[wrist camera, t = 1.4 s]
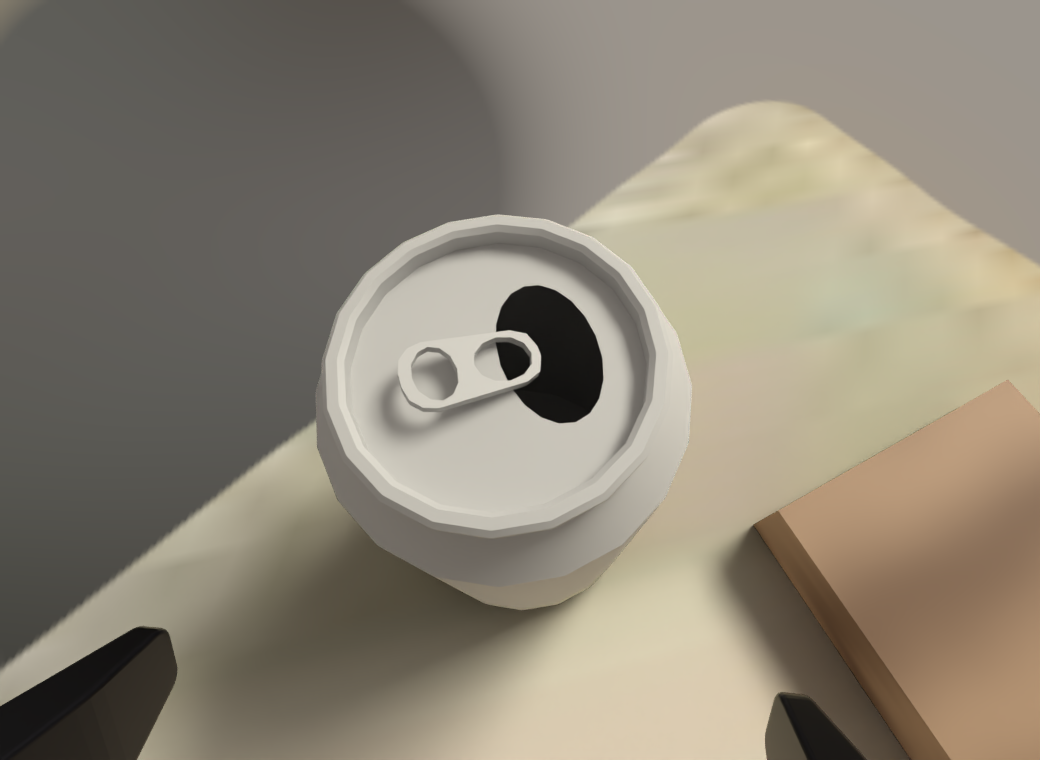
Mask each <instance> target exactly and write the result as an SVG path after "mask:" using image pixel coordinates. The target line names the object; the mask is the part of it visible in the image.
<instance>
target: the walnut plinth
mask: <svg viewBox="0 0 1040 760" xmlns="http://www.w3.org/2000/svg"><path fill="white" fill-rule="evenodd" d="M754 527H755V528H756V530H757V531H758V533H759V534H760V536H761V537H762V539H763V540H764V542H765V543H766V545H767V546H768V547H769V549H770V550H771V552H772V553H773V555H774V556H775V558H776V559H777V561H778V562H779V564H780V565H781V567H782V568H783V570H784V571H785V573H786V574H787V576H788V577H789V579H790V580H791V582H792V583H793V585H794V586H795V588H796V589H797V591H798V592H799V594H800V595H801V597H802V598H803V600H804V601H805V603H806V604H807V606H808V607H809V609H810V610H811V612H812V613H813V615H814V616H815V618H816V619H817V621H818V622H819V624H820V625H821V627H822V628H823V630H824V631H825V633H826V634H827V635H828V637H829V638H830V640H831V641H832V643H833V644H834V646H835V647H836V649H837V650H838V652H839V653H840V655H841V656H842V658H843V659H844V661H845V662H846V664H847V665H848V667H849V668H850V670H851V671H852V673H853V674H854V676H855V677H856V679H857V680H858V682H859V683H860V685H861V686H862V688H863V689H864V691H865V692H866V694H867V695H868V697H869V698H870V700H871V701H872V703H873V704H874V706H875V707H876V709H877V710H878V712H879V713H880V715H881V716H882V718H883V719H884V721H885V722H886V724H887V725H888V726H889V728H890V729H891V731H892V732H893V734H894V735H895V737H896V738H897V740H898V741H899V743H900V744H901V746H902V747H903V749H904V750H905V752H906V753H907V755H908V756H909V758H910V759H911V760H1040V413H1039V412H1038V411H1037V410H1036V409H1035V408H1034V407H1033V406H1032V405H1031V404H1030V403H1029V402H1028V401H1027V400H1026V398H1025V397H1024V396H1023V395H1022V394H1021V393H1020V392H1019V391H1018V390H1017V389H1016V388H1015V387H1014V386H1013V384H1012V383H1011V382H1010V381H1009V380H1006V381H1005V382H1003V383H1001V384H999V385H998V386H996V387H994V388H992V389H991V390H989V391H987V392H985V393H984V394H982V395H980V396H978V397H977V398H975V399H973V400H971V401H970V402H968V403H966V404H964V405H962V406H961V407H959V408H957V409H955V410H954V411H952V412H950V413H948V414H947V415H945V416H943V417H941V418H940V419H938V420H936V421H934V422H933V423H931V424H929V425H927V426H926V427H924V428H922V429H920V430H919V431H917V432H915V433H913V434H912V435H910V436H908V437H906V438H905V439H903V440H901V441H899V442H898V443H896V444H894V445H892V446H891V447H889V448H887V449H885V450H884V451H882V452H880V453H878V454H876V455H875V456H873V457H871V458H869V459H868V460H866V461H864V462H862V463H861V464H859V465H857V466H855V467H854V468H852V469H850V470H848V471H847V472H845V473H843V474H841V475H840V476H838V477H836V478H834V479H833V480H831V481H829V482H827V483H826V484H824V485H822V486H820V487H819V488H817V489H815V490H813V491H812V492H810V493H808V494H806V495H805V496H803V497H801V498H799V499H798V500H796V501H794V502H792V503H791V504H789V505H787V506H785V507H784V508H782V509H780V510H778V511H776V512H775V513H773V514H771V515H769V516H768V517H766V518H764V519H762V520H761V521H759V522H757V523H755V524H754Z"/></svg>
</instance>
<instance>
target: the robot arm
mask: <svg viewBox="0 0 1040 760" xmlns="http://www.w3.org/2000/svg"><path fill="white" fill-rule="evenodd" d="M176 677H177V664H176V660H175V656H174V651H173V647H172V643H171V639H170V636H169V633H168V632H167V631H166V630H165V629H163V628H156V627H146V626H140V627H136V628H134V629H132V630H130V631H128V632H127V633H125V634H123V635H122V636H120V637H118V638H116V639H115V640H113V641H111V642H110V643H108V644H106V645H104V646H103V647H101V648H99V649H98V650H96V651H94V652H92V653H91V654H89V655H87V656H86V657H84V658H82V659H80V660H79V661H77V662H75V663H74V664H72V665H70V666H68V667H67V668H65V669H63V670H62V671H60V672H58V673H56V674H55V675H53V676H51V677H50V678H48V679H46V680H44V681H43V682H41V683H39V684H38V685H36V686H34V687H32V688H31V689H29V690H27V691H26V692H24V693H22V694H21V695H19V696H17V697H15V698H14V699H12V700H10V701H9V702H7V703H5V704H3V705H2V706H0V760H137V758H138V756H139V754H140V752H141V750H142V748H143V746H144V744H145V742H146V740H147V738H148V736H149V734H150V732H151V730H152V728H153V726H154V724H155V722H156V720H157V718H158V716H159V714H160V712H161V710H162V708H163V706H164V704H165V702H166V700H167V698H168V696H169V694H170V692H171V690H172V688H173V686H174V684H175V681H176ZM765 749H766V755H767V760H867V759H866V758H865V757H864V756H863V755H862V754H861V753H860V751H859V750H858V749H857V748H856V747H855V746H854V745H853V744H852V743H851V742H850V740H849V739H848V738H847V737H846V736H845V735H844V734H843V733H842V732H841V731H840V729H839V728H838V727H837V726H836V725H835V724H834V723H833V722H832V721H831V719H830V718H829V717H828V716H827V715H826V714H825V713H824V712H823V711H822V710H821V708H820V707H819V706H818V705H817V704H816V703H815V702H814V701H813V700H812V699H811V698H810V697H808V696H806V695H803V694H795V693H785V692H780V693H778V694H777V695H776V696H775V699H774V702H773V706H772V709H771V713H770V717H769V721H768V725H767V728H766V733H765Z"/></svg>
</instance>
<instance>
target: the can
mask: <svg viewBox="0 0 1040 760" xmlns="http://www.w3.org/2000/svg"><path fill="white" fill-rule="evenodd" d="M691 395H692V384H691V380H690V377H689V373H688V370H687V367H686V363H685V360H684V356H683V353H682V349H681V346H680V343H679V339H678V336H677V333H676V331H675V330H674V328H673V327H672V326H671V324H670V323H669V321H668V320H667V318H666V317H665V315H664V314H663V313H662V311H661V310H660V307H659V305H658V304H657V302H656V301H655V300H654V298H653V297H652V295H651V294H650V292H649V291H648V290H647V288H646V287H645V285H644V284H643V282H642V281H641V279H640V278H639V277H638V275H637V274H636V272H635V271H634V269H633V268H632V267H631V266H630V265H629V264H627V263H626V262H625V261H623V260H622V259H621V258H620V257H618V256H617V255H616V254H614V253H613V252H612V251H610V250H609V249H608V248H606V247H605V246H604V245H603V244H601V243H600V242H599V241H597V240H596V239H595V238H593V237H591V236H589V235H586V234H584V233H581V232H578V231H576V230H573V229H571V228H568V227H565V226H563V225H560V224H558V223H555V222H552V221H550V220H547V219H537V218H528V217H518V216H508V215H492V216H485V217H479V218H472V219H466V220H460V221H454V222H448V223H446V224H444V225H441V226H439V227H437V228H435V229H432V230H430V231H428V232H425V233H423V234H421V235H419V236H416V237H414V238H412V239H410V240H407V241H405V242H403V243H402V244H401V245H399V246H398V247H397V248H396V249H394V250H393V251H392V252H391V253H389V254H388V255H387V256H386V257H385V258H383V259H382V260H381V261H379V262H378V263H377V264H376V265H375V266H373V267H372V268H371V269H370V270H368V271H367V272H366V273H365V274H364V275H363V277H362V278H361V279H360V281H359V282H358V284H357V285H356V287H355V288H354V289H353V291H352V292H351V294H350V295H349V297H348V298H347V300H346V301H345V302H344V304H343V305H342V307H341V308H340V310H339V311H338V312H337V314H336V317H335V320H334V323H333V326H332V330H331V333H330V336H329V340H328V343H327V346H326V349H325V352H324V356H323V359H322V373H321V376H320V379H319V383H318V386H317V389H316V423H317V448H318V451H319V453H320V456H321V458H322V461H323V464H324V466H325V469H326V471H327V474H328V476H329V479H330V482H331V484H332V487H333V489H334V492H335V494H336V497H337V500H338V501H339V502H340V504H341V505H342V506H343V507H344V508H345V509H346V510H347V512H348V513H349V514H350V515H351V516H352V517H353V518H354V520H355V521H356V522H357V523H358V524H359V525H360V526H361V527H362V529H363V530H364V531H365V532H366V533H367V534H368V535H369V537H370V538H371V539H372V540H373V541H374V542H375V543H376V545H377V546H379V547H381V548H382V549H384V550H386V551H388V552H390V553H391V554H393V555H395V556H397V557H399V558H401V559H402V560H404V561H406V562H408V563H410V564H411V565H413V566H415V567H417V568H419V569H421V570H422V571H424V572H426V573H428V574H430V575H432V576H433V577H435V578H437V579H439V580H441V581H443V582H445V583H447V584H448V585H450V586H452V587H454V588H456V589H458V590H460V591H462V592H464V593H465V594H467V595H469V596H471V597H473V598H475V599H477V600H479V601H481V602H482V603H484V604H487V605H493V606H499V607H505V608H511V609H517V610H527V609H533V608H539V607H545V606H551V605H557V604H560V603H562V602H564V601H565V600H567V599H569V598H571V597H573V596H575V595H576V594H578V593H580V592H582V591H584V590H586V589H587V588H589V587H591V586H592V585H593V584H594V583H595V582H596V581H597V579H598V578H599V577H600V576H601V575H602V574H603V573H604V572H605V571H606V570H607V568H608V567H609V566H610V565H611V564H612V563H613V562H614V561H615V560H616V558H617V557H618V556H619V555H620V553H621V552H622V551H623V550H624V549H625V547H626V546H627V545H628V544H629V542H630V541H631V540H632V539H633V537H634V536H635V535H636V534H637V532H638V531H639V530H640V529H641V527H642V526H643V525H644V524H645V522H646V521H647V520H648V519H649V517H650V516H651V515H652V514H653V513H654V511H655V510H656V509H657V508H658V506H659V505H660V504H661V503H662V501H663V500H664V499H665V498H666V495H667V493H668V490H669V488H670V486H671V483H672V481H673V479H674V476H675V474H676V471H677V469H678V467H679V464H680V462H681V460H682V457H683V455H684V453H685V450H686V448H687V445H688V443H689V430H690V412H691Z"/></svg>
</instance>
